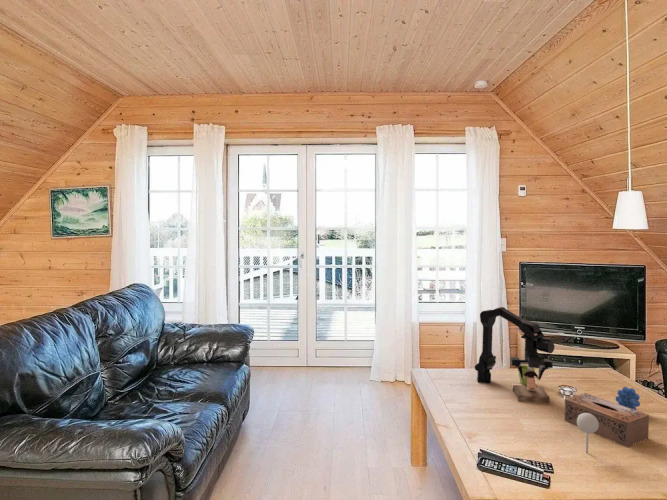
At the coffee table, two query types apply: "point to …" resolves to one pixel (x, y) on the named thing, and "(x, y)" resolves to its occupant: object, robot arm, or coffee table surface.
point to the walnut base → (531, 394)
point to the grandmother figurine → (530, 378)
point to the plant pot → (524, 370)
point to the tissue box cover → (609, 418)
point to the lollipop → (587, 425)
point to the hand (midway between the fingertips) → (530, 379)
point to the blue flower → (628, 398)
